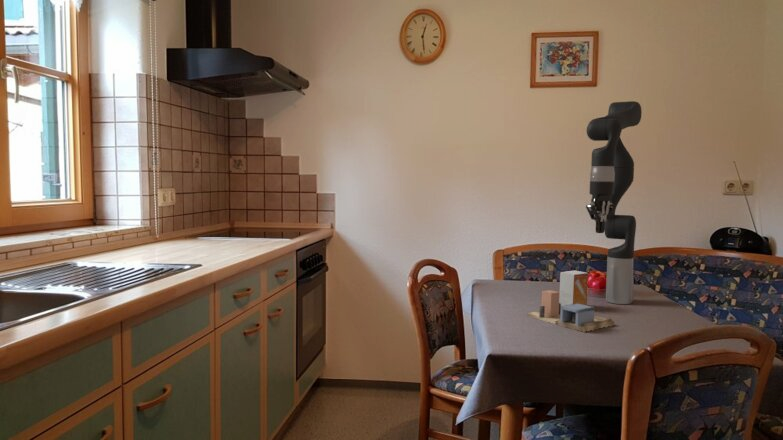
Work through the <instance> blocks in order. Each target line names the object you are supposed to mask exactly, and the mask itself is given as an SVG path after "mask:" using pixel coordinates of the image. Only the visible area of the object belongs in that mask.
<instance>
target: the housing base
mask: <svg viewBox="0 0 783 440" xmlns="http://www.w3.org/2000/svg"><path fill="white" fill-rule="evenodd" d="M575 322H576V313H572V320H570V321H565V322H560V320H558V324H557V326H561V327H564V328H568V329H572V330H574V329H575V330H574V331H578V330H579V332H581V331H582V333H587V332H591V331H590V330H592V331H595V330H594V329H596V330H599V328H601V329H604V328H603V327H605V328H609V327H613V325H614V326H615V320H613V319H612V318H604V317H601V316H597V315H594V322H591V323H586V324H582V325H581V326H575ZM608 326H609V327H608ZM586 331H587V332H586Z"/></svg>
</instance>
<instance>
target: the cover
mask: <svg viewBox="0 0 783 440" xmlns="http://www.w3.org/2000/svg"><path fill="white" fill-rule="evenodd" d="M572 313H576V322H575V326H581V325H582V324H586V323H591V322H594V316H595V306H589V305H587V306H586V305H582V304H578V303H576V304H570V305H565V306H561V312H560V322H565V321H570V320H572Z"/></svg>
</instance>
